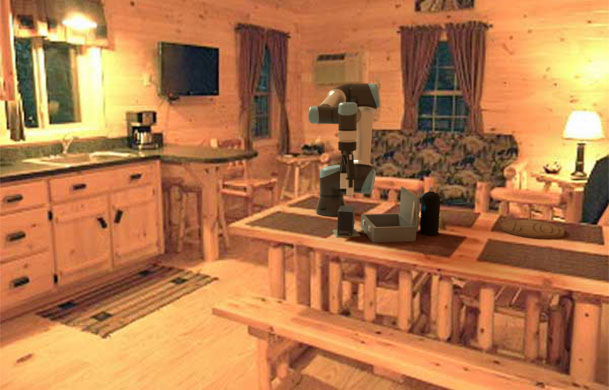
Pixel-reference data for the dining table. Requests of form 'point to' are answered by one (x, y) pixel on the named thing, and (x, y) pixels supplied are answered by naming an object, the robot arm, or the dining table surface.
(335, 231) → the mat
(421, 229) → the aerosol can
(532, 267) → the dining table surface
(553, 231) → the trivet
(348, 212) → the small box
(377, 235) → the case
